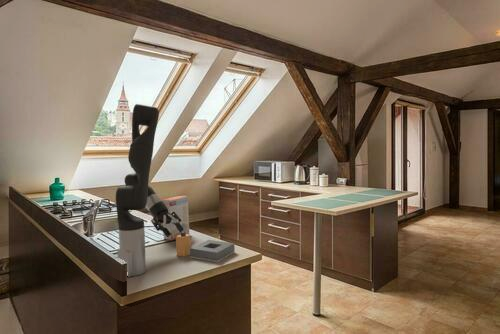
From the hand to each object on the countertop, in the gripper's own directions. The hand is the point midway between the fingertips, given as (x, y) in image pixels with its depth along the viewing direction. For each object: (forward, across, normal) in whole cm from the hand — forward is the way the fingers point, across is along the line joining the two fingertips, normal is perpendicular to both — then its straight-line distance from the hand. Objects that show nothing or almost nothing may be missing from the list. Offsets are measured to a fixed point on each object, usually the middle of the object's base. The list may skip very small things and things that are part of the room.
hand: (175, 233), depth 151 cm
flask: (+2, +13, +11) cm, 17 cm away
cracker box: (-6, +21, +19) cm, 29 cm away
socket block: (+18, +5, -5) cm, 19 cm away
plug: (+9, 0, +3) cm, 10 cm away
